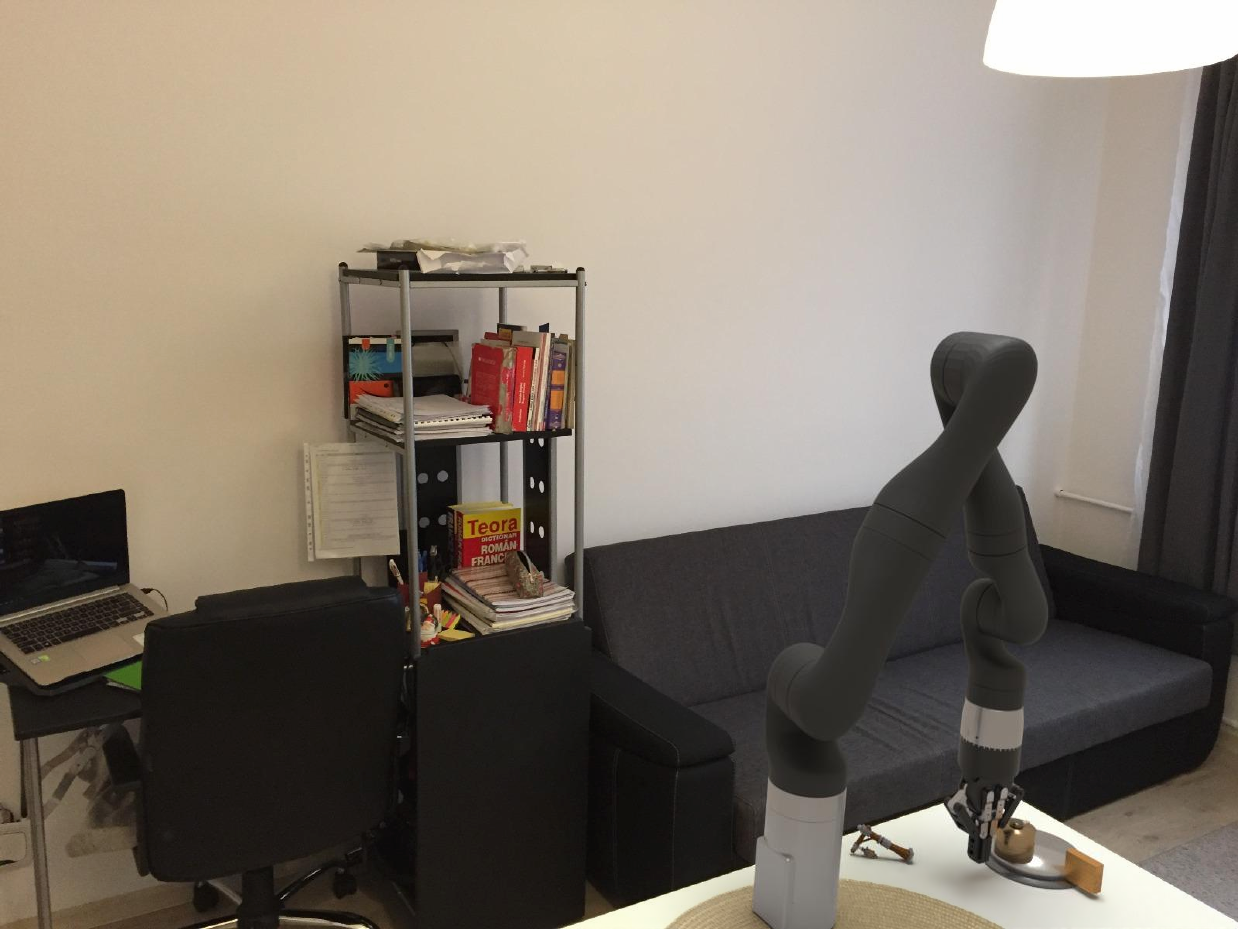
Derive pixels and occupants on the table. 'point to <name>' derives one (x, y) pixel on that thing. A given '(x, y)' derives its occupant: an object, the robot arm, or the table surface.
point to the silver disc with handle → (1058, 863)
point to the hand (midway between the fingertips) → (978, 860)
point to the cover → (1015, 841)
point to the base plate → (1029, 878)
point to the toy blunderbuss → (884, 842)
